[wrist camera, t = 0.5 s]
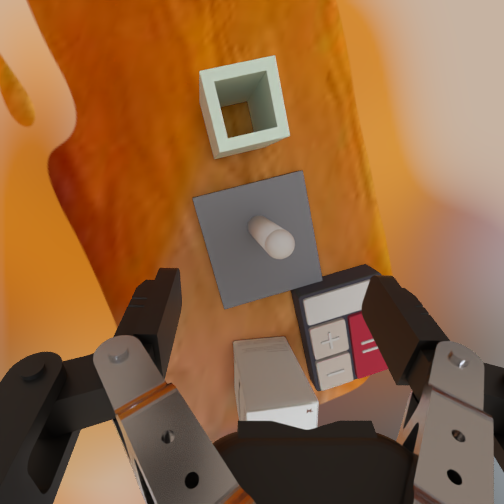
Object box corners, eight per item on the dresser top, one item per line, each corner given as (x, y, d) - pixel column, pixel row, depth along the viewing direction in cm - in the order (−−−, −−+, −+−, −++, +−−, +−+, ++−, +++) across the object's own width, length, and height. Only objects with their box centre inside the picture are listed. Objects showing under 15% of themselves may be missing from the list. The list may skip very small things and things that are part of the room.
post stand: (192, 197, 34) (188, 208, 23) (299, 170, 36) (348, 167, 24) (223, 305, 38) (234, 362, 26) (319, 277, 40) (369, 320, 28)
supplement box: (231, 339, 40) (245, 410, 28) (285, 334, 41) (322, 401, 29) (232, 387, 41) (245, 474, 29) (284, 381, 43) (317, 462, 31)
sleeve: (199, 102, 32) (199, 71, 23) (253, 90, 33) (274, 55, 23) (214, 159, 34) (219, 152, 24) (264, 147, 34) (290, 135, 25)
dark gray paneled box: (319, 396, 40) (300, 299, 35) (307, 375, 44) (289, 285, 39) (393, 371, 41) (385, 274, 36) (376, 352, 45) (366, 262, 41)
